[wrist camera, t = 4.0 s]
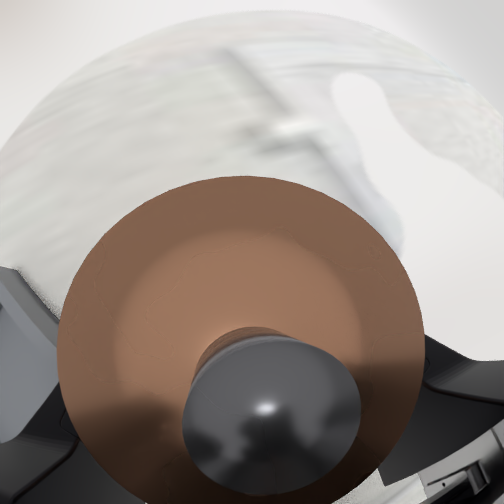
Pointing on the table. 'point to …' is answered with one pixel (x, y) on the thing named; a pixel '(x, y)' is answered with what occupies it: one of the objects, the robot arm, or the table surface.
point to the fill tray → (24, 353)
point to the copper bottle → (240, 346)
